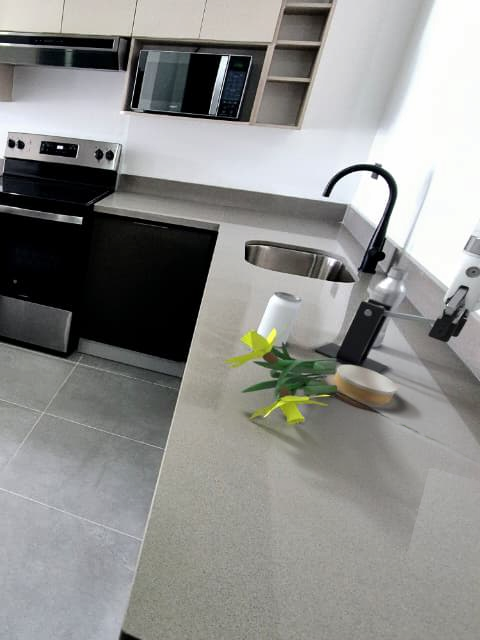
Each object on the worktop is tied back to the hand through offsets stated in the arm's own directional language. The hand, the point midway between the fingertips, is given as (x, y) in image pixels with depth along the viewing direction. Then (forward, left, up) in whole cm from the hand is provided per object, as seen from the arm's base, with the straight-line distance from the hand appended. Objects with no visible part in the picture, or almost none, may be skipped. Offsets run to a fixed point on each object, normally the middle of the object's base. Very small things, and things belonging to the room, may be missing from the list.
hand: (443, 335), depth 100 cm
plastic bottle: (+3, -22, -13) cm, 26 cm away
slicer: (+10, -7, -13) cm, 18 cm away
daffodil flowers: (+29, +23, -13) cm, 39 cm away
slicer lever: (+5, -4, 0) cm, 6 cm away
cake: (+12, +9, -13) cm, 20 cm away
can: (+27, -7, -13) cm, 31 cm away
